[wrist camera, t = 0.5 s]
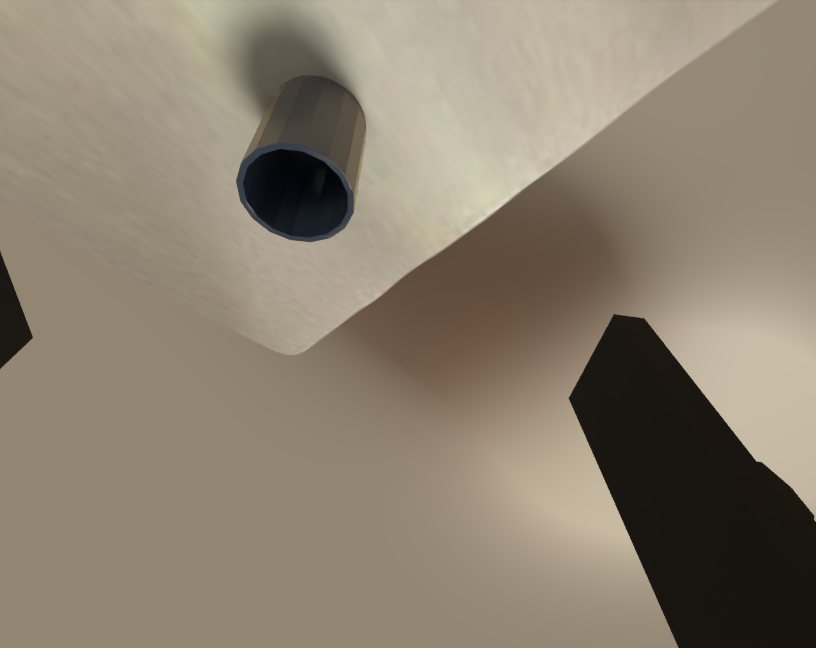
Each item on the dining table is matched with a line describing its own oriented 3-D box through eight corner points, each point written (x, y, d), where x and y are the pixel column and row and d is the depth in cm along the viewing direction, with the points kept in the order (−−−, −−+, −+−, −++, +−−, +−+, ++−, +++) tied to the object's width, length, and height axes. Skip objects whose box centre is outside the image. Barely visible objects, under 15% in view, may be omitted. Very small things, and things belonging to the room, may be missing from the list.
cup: (314, 52, 30) (288, 118, 24) (385, 133, 34) (377, 206, 29) (249, 117, 34) (213, 188, 28) (321, 183, 38) (302, 257, 32)
